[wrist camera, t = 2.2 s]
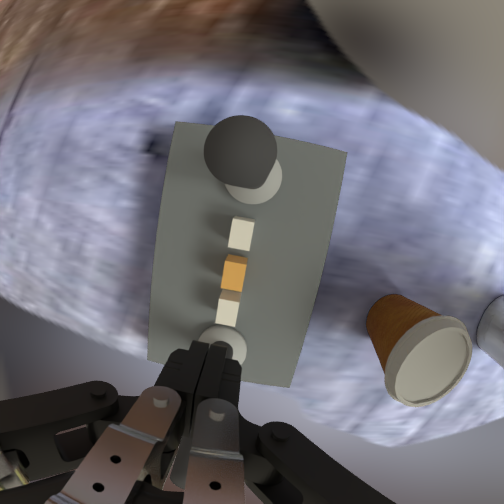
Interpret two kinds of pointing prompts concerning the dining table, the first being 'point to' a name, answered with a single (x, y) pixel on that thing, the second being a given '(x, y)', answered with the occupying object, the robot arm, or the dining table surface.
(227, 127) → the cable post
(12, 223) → the dining table surface
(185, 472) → the cable post
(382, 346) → the disposable coffee cup
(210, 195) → the panel
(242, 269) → the orange small block
